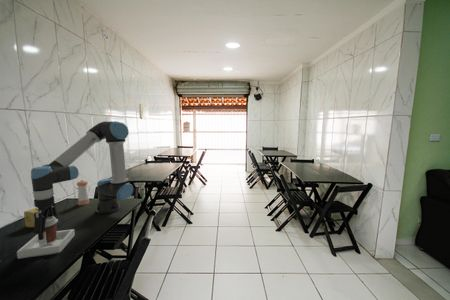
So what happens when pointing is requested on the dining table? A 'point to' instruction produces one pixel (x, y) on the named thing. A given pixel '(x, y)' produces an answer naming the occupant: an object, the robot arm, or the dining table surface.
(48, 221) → the coffee cup
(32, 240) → the white square tray
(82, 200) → the salt shaker
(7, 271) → the dining table surface
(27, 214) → the cheese
